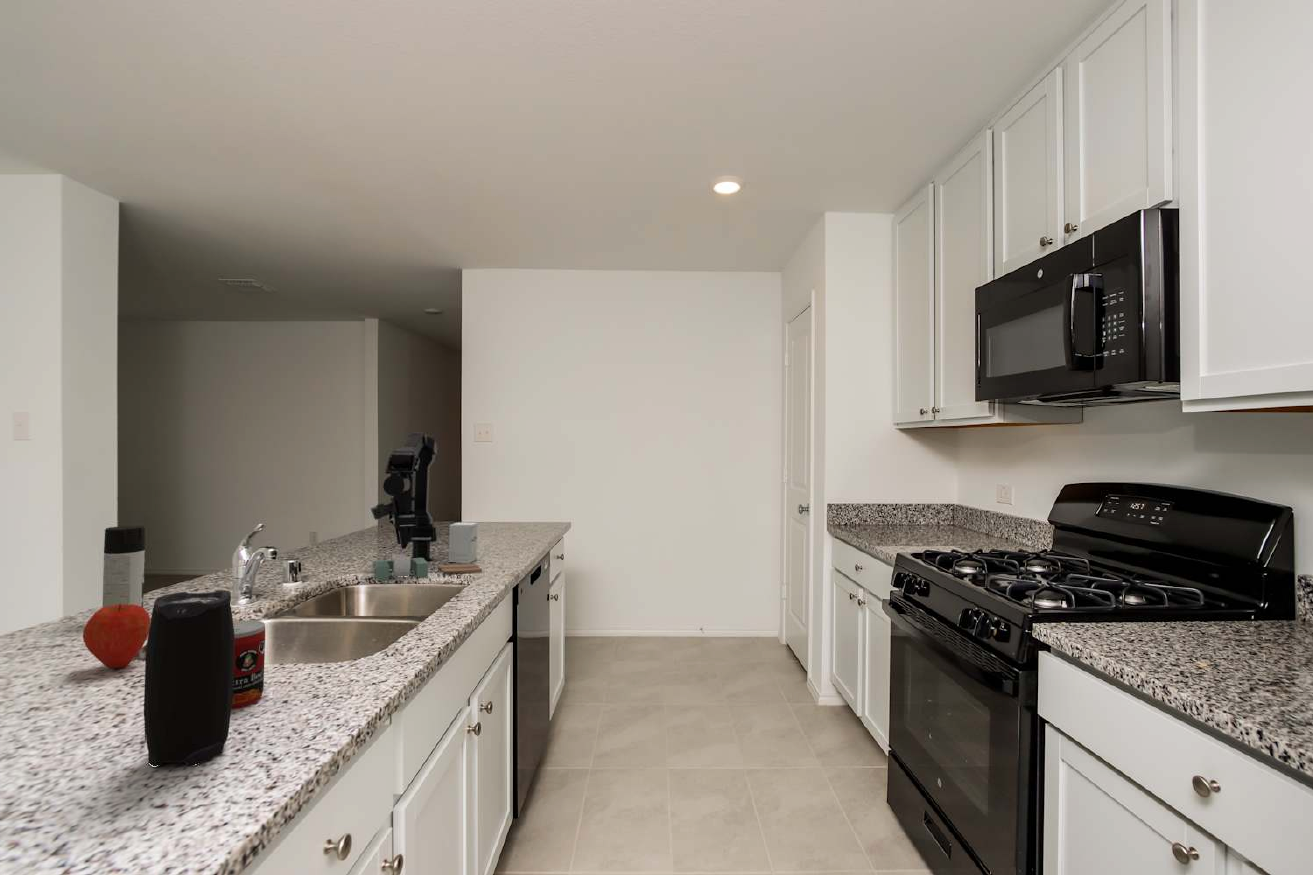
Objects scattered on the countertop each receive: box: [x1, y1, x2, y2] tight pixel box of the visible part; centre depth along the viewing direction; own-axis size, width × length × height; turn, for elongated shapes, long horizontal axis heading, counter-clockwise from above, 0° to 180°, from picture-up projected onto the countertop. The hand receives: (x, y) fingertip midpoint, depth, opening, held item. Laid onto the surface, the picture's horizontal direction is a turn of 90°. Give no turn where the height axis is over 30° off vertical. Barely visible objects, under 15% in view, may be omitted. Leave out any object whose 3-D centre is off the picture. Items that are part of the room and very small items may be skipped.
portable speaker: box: [143, 589, 235, 766], centre depth 78 cm, size 9×9×20 cm
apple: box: [82, 604, 151, 669], centre depth 106 cm, size 9×8×11 cm
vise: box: [365, 558, 429, 582], centre depth 186 cm, size 15×16×4 cm
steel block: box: [391, 553, 412, 579], centre depth 184 cm, size 4×4×6 cm
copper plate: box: [437, 562, 483, 576], centre depth 193 cm, size 11×11×1 cm
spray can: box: [101, 525, 146, 608], centre depth 133 cm, size 7×7×20 cm
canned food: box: [231, 619, 266, 711], centre depth 94 cm, size 8×8×11 cm
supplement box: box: [448, 522, 478, 564], centre depth 208 cm, size 7×7×13 cm
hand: (401, 546), depth 184 cm, fingers open, 9 cm apart
